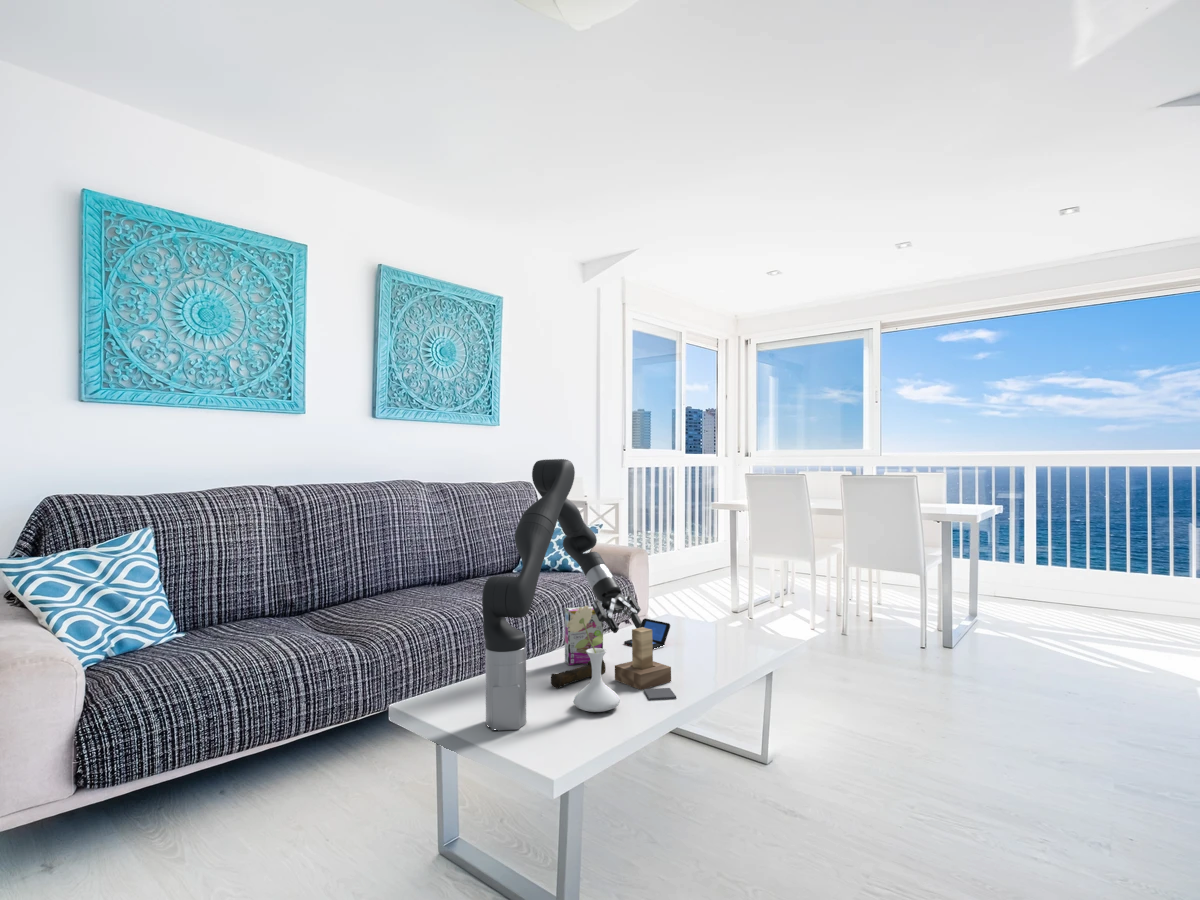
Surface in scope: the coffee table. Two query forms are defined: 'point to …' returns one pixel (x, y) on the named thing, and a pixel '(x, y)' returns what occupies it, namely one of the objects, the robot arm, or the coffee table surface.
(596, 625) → the candy bar box
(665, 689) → the rubber pad
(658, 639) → the handheld game console
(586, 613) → the flower in vase
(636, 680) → the socket block
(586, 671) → the brown wooden log
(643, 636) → the oak peg
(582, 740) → the coffee table surface
